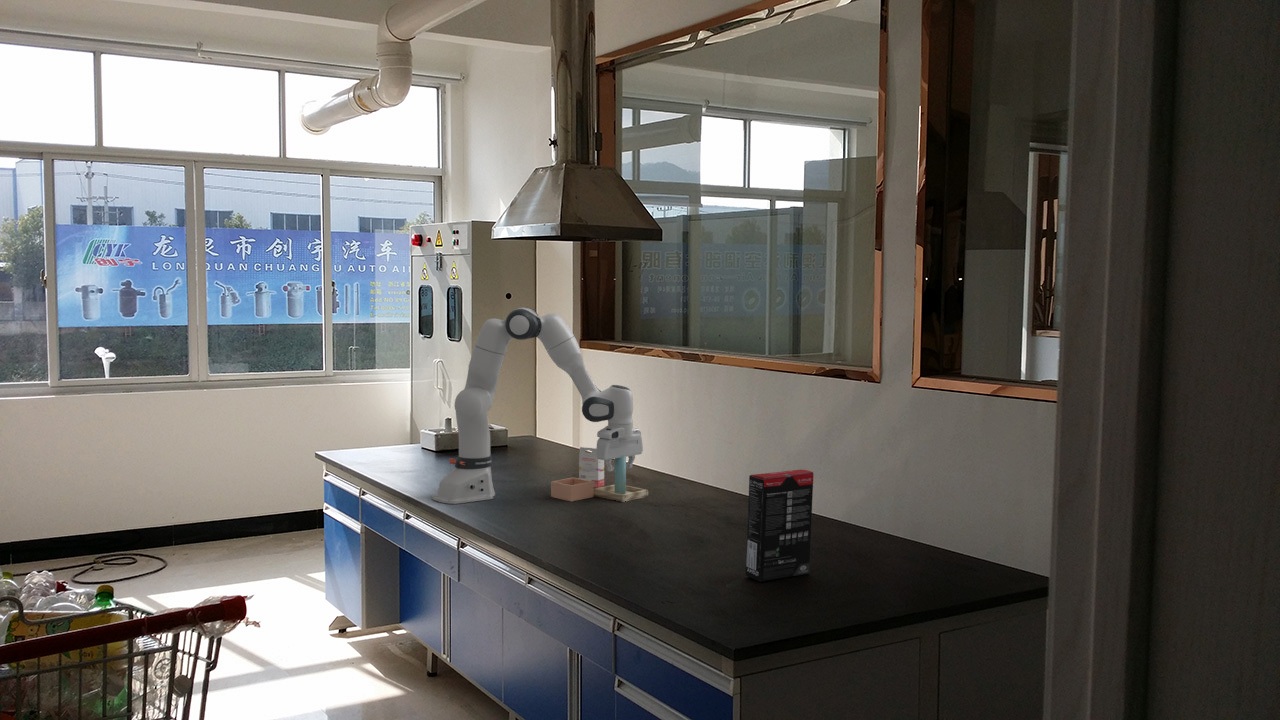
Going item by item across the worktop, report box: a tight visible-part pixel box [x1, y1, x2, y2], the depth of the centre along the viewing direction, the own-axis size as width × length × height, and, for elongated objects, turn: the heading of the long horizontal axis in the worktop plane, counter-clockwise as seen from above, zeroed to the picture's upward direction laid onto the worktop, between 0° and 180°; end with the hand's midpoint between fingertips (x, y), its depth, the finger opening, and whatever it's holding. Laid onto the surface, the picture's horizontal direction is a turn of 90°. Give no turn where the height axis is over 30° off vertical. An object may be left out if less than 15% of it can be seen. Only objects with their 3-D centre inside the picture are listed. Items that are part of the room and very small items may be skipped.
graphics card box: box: [745, 469, 814, 583], centre depth 256 cm, size 17×7×27 cm, turn 123°
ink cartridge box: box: [578, 446, 605, 489], centre depth 369 cm, size 9×5×15 cm, turn 62°
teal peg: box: [614, 455, 627, 495], centre depth 352 cm, size 4×4×14 cm
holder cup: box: [550, 477, 595, 502], centre depth 350 cm, size 11×11×6 cm
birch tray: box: [593, 484, 649, 503], centre depth 352 cm, size 13×15×2 cm
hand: (620, 469), depth 351 cm, fingers open, 8 cm apart
